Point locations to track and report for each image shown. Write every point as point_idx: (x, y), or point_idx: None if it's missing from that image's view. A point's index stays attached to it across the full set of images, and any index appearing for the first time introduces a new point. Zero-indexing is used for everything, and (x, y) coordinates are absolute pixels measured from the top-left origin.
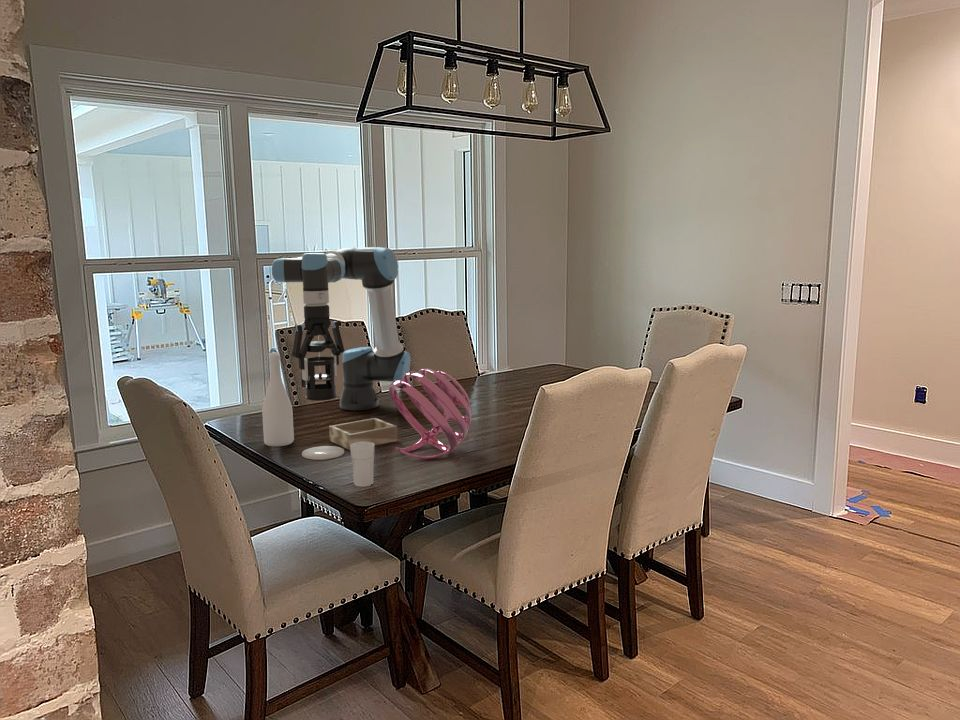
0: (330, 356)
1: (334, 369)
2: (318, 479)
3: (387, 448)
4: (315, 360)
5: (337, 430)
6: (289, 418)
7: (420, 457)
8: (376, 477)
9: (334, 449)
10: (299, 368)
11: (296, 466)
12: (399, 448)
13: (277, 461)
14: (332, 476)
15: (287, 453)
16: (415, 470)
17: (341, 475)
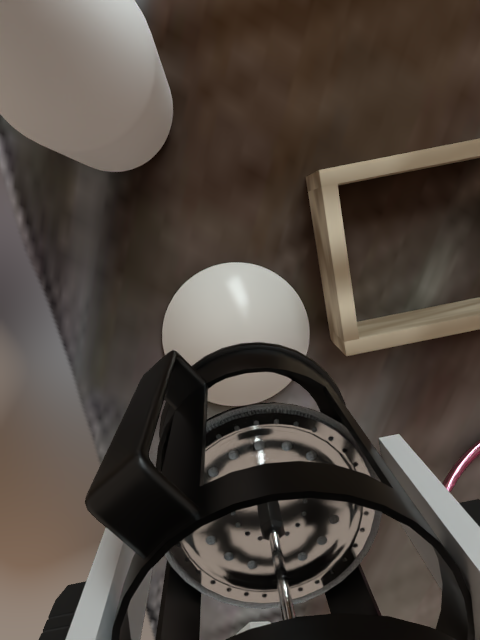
0: (470, 567)
1: (412, 542)
2: (158, 567)
3: (447, 373)
4: (284, 472)
5: (330, 251)
6: (135, 140)
7: None
8: (305, 611)
9: (280, 327)
10: (63, 595)
11: None
12: (454, 484)
13: (73, 351)
14: None
15: (121, 272)
16: (419, 600)
17: None
